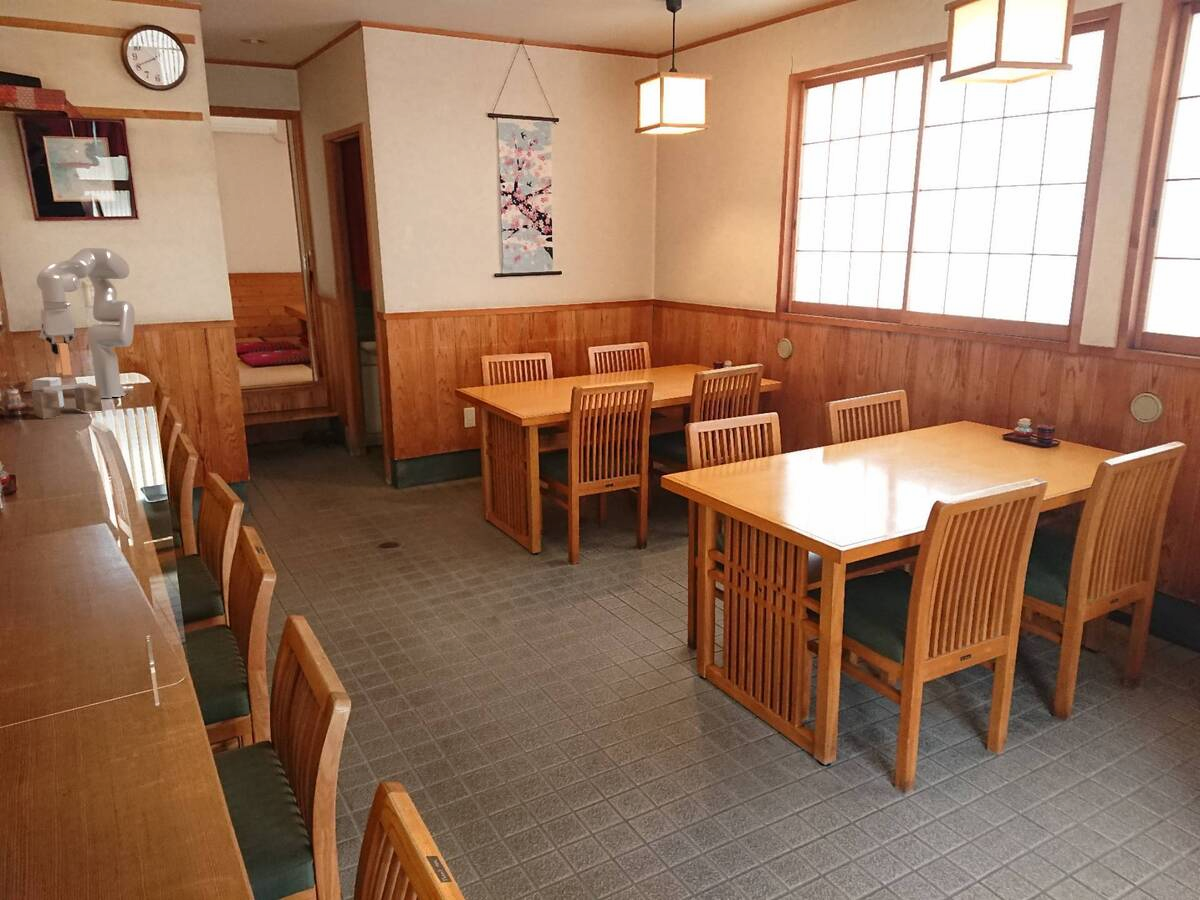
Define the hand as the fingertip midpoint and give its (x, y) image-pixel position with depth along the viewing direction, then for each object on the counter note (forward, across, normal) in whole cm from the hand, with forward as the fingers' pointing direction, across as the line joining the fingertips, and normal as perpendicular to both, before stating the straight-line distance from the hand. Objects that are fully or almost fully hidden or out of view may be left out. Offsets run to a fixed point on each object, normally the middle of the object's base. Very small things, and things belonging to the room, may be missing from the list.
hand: (61, 353), depth 328 cm
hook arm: (+14, 0, 0) cm, 14 cm away
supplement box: (+25, +2, -14) cm, 28 cm away
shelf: (+24, 0, 0) cm, 24 cm away
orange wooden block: (+8, 0, 0) cm, 8 cm away
